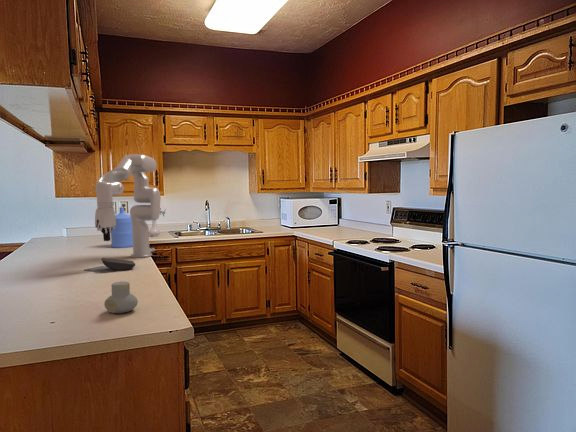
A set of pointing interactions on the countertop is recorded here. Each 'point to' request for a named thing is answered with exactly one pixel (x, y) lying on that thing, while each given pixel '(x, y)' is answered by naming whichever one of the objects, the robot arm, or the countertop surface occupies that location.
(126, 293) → the air freshener
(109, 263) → the leaning round-cornered charcoal block
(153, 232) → the flower vase
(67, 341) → the countertop surface
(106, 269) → the mat
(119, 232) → the water jug
